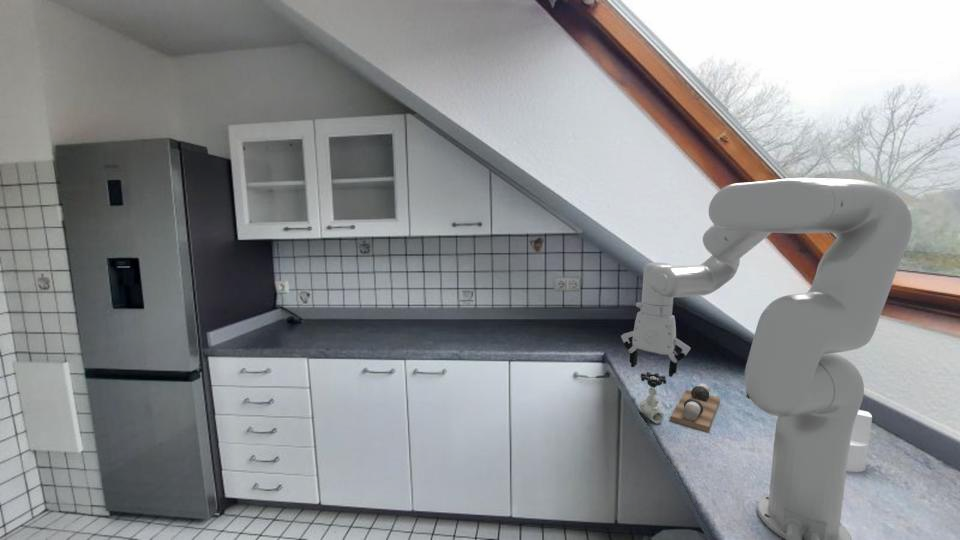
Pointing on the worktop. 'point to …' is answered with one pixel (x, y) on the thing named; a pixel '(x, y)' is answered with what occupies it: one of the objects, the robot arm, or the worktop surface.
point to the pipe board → (702, 418)
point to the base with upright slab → (859, 442)
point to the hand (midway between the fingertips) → (652, 370)
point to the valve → (652, 397)
